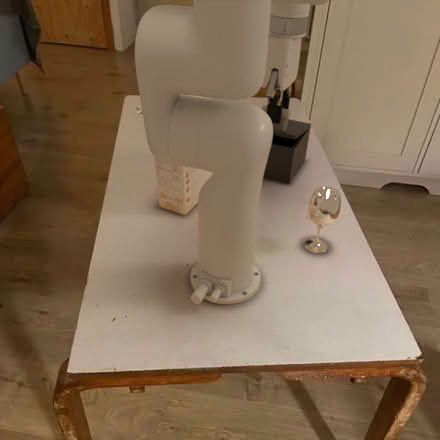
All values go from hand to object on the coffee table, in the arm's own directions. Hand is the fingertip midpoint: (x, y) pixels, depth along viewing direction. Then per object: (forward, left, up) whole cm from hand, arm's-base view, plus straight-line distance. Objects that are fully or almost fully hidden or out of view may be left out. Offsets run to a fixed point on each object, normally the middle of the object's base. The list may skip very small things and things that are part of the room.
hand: (276, 117), depth 99 cm
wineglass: (-23, -18, -14) cm, 32 cm away
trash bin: (+3, 0, -14) cm, 14 cm away
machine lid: (+3, 0, -3) cm, 4 cm away
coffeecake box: (-18, +13, -14) cm, 26 cm away
